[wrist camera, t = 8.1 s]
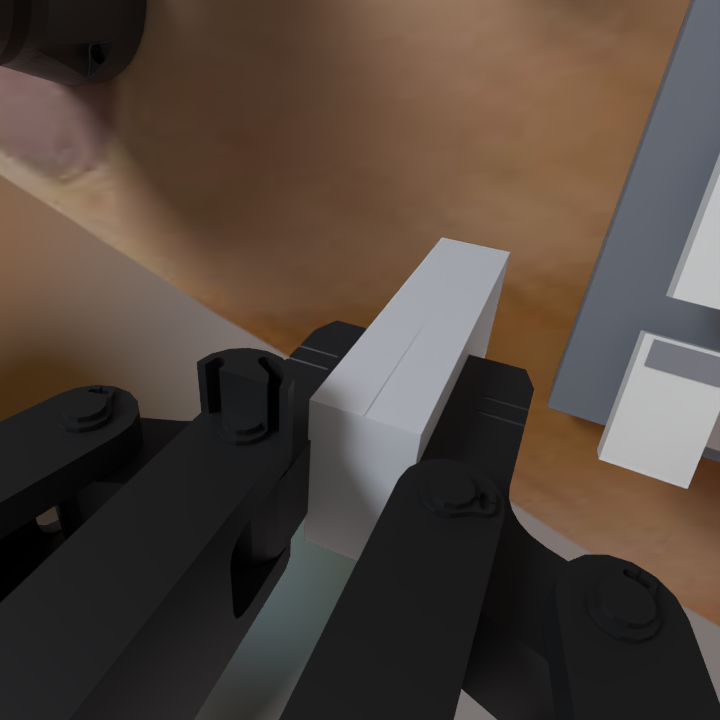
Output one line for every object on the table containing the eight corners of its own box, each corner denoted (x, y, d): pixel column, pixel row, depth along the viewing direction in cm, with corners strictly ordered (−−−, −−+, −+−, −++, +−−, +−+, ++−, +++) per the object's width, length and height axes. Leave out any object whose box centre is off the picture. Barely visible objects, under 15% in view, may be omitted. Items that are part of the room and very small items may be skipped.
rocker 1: (596, 449, 37) (599, 459, 34) (641, 329, 35) (646, 333, 33) (680, 477, 35) (687, 489, 33) (731, 354, 33) (742, 359, 31)
